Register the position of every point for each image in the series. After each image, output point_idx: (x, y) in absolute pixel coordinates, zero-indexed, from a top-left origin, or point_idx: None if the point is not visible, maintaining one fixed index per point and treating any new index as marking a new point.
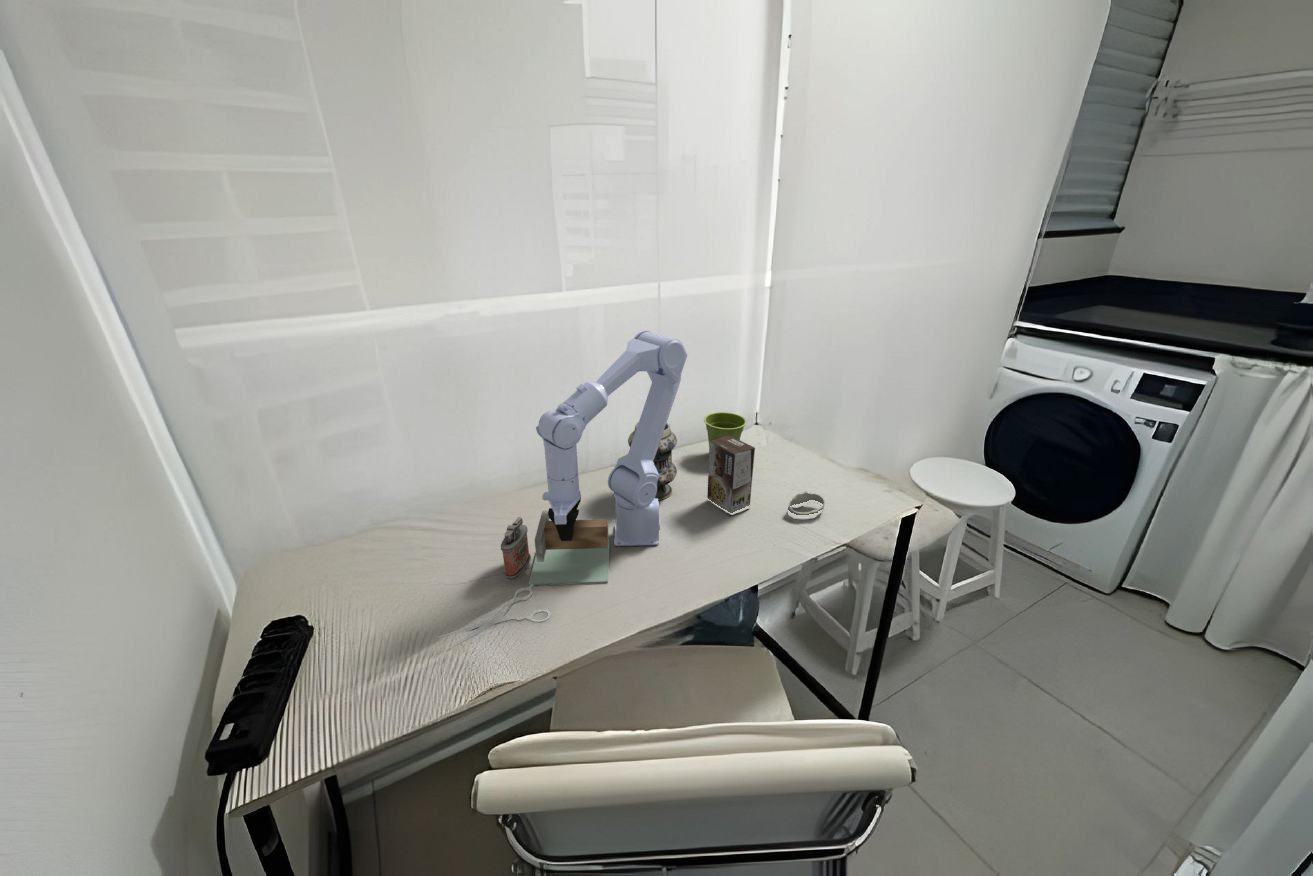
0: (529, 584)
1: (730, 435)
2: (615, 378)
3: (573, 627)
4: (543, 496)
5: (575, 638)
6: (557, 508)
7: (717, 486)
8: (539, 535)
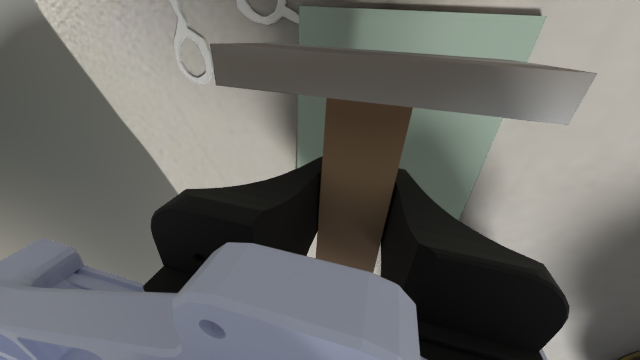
0: (299, 9)
1: None
2: None
3: (179, 130)
4: (206, 314)
5: (157, 133)
6: (39, 344)
7: None
8: (251, 72)
